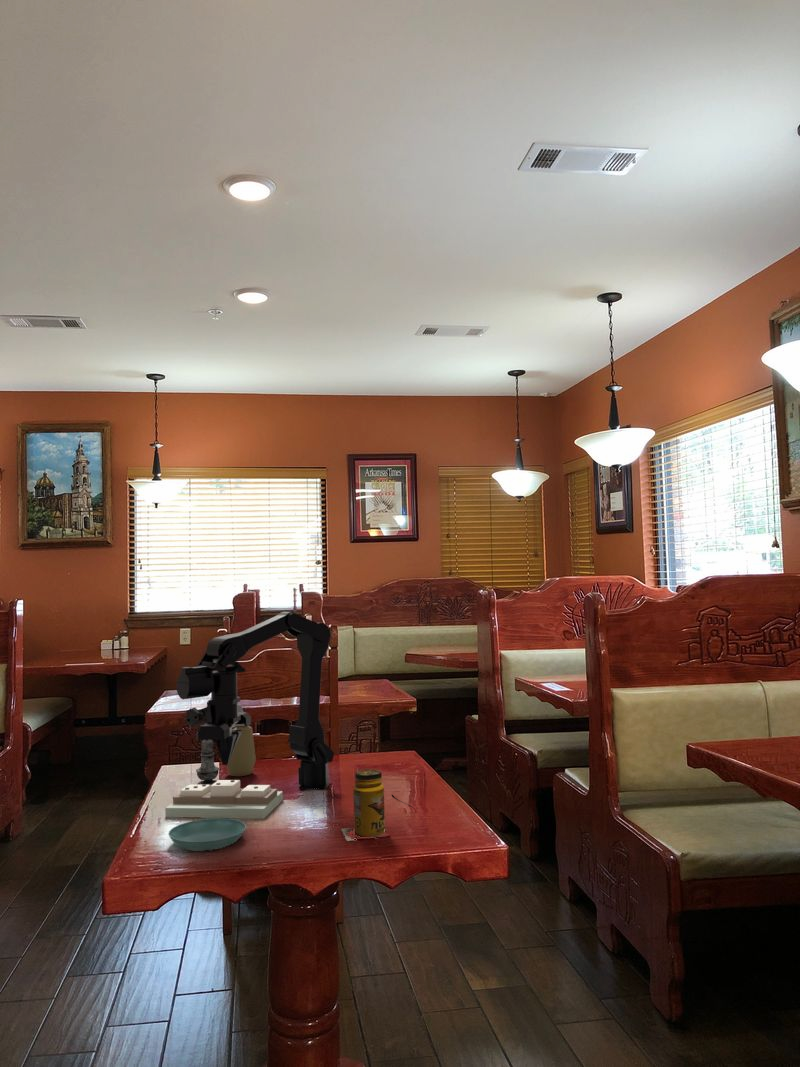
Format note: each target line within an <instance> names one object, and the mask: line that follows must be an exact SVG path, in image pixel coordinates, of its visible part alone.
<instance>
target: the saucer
mask: <svg viewBox="0 0 800 1067" xmlns="http://www.w3.org/2000/svg"><path fill="white" fill-rule="evenodd" d="M246 829H247V825H246V824H245V823H244V822H243V821H241V820H239V819H235V818H201V819H197V820H191V821H187V822H184V823H180V824H178V825H176V826H174V827H172V828H170V830H169V831H168V834H167V835H168V836H169V838H170V839H171V840H172V842H173V843H174V844H175V845H176V846H177V847H179V848H181V849H182V850H185V851H190V850H191V852H206V851H205V850H209V851H214V850H213V849H215V850H220V849H224V848H227V847H229V846H231V844H232V845H233V844H235V843H236V842H237V841H238V839H240V838H241V836H242V835H243V834H244V832H245V831H246ZM226 846H227V847H226ZM223 847H224V848H223ZM219 848H220V849H219Z"/></svg>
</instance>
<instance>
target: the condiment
mask: <svg viewBox="0 0 800 1067" xmlns="http://www.w3.org/2000/svg"><path fill="white" fill-rule="evenodd" d="M354 778H355V779H354V783H355V784H354V787H353V790H352V791H353V818H354V819H353V820H354V821H353V822H354V823H353V824H354V827H352V828H348V827H346V828H341V832H342V834H343V837H344V836H345V837H344V838H345V840H346V841H347V842H351V841H358V840H357V839H356V838H354V839H356V840H354V839H351V837H350V836H348V835H349V833H348V835H346V834H347V832H350V831H351V830H352V831H353V829H355V835H357V836H360V837H377V836H380V835H382V834H384V833H385V830H386V820H385V819H386V816H385V815H386V812H385V789H384V784H382V783H383V779H382V778H383V777H382V772H381V770H378V769H373V768H372V769H371V768H368V769H367V768H366V769H360V770H358V771H356V772H355V773H354ZM352 835H353V834H352Z"/></svg>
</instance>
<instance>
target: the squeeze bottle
mask: <svg viewBox="0 0 800 1067" xmlns="http://www.w3.org/2000/svg"><path fill="white" fill-rule="evenodd" d="M238 712H244V710H243V705H242V704H238ZM235 727H237V730H243V731H242V733H241V735H240V737H239V740H238V742H237V744H236V747H235V749H234V751H233V754H232V756H231V759H230V761H229V764H228V765H225V767H226V770H227V771H228V772H227V773H228V775H229V776H232V777H233V776H234V777H243V776H244V777H245V776H248V775H251V774H252V773H253V770H254V767H255V763H256V760H257V758H256V748H255V742H254V734H253V733H254V731H253V727H252V726H250V725H248V726H245V725H244V724H236V725H235Z"/></svg>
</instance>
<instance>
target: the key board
mask: <svg viewBox="0 0 800 1067" xmlns="http://www.w3.org/2000/svg"><path fill="white" fill-rule="evenodd" d="M243 789H244V788H240V792H239V793H238V794H236V795H235V796H234V797H220V796H211V791H210V792H209V793H207V794H206V795H204V796H180V792H178V793H177V794H176V795H174V796H173V797H172V803H170V804H169V805H168V806H166V807H165V814H164V815H165V818H177V817H201V818H200V819H212V818H226V819H265V818H266V817H268V815H270V813H271V812H272V811H273V810H274V809H275V808H277V806H279V804H281V803H282V802H283V801H282V800H284V792H283V791H282V790H278V788H270V793H268V794H267V795H266V796H265V797H241V791H242V790H243ZM281 801H282V802H281ZM280 802H281V803H280Z"/></svg>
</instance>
